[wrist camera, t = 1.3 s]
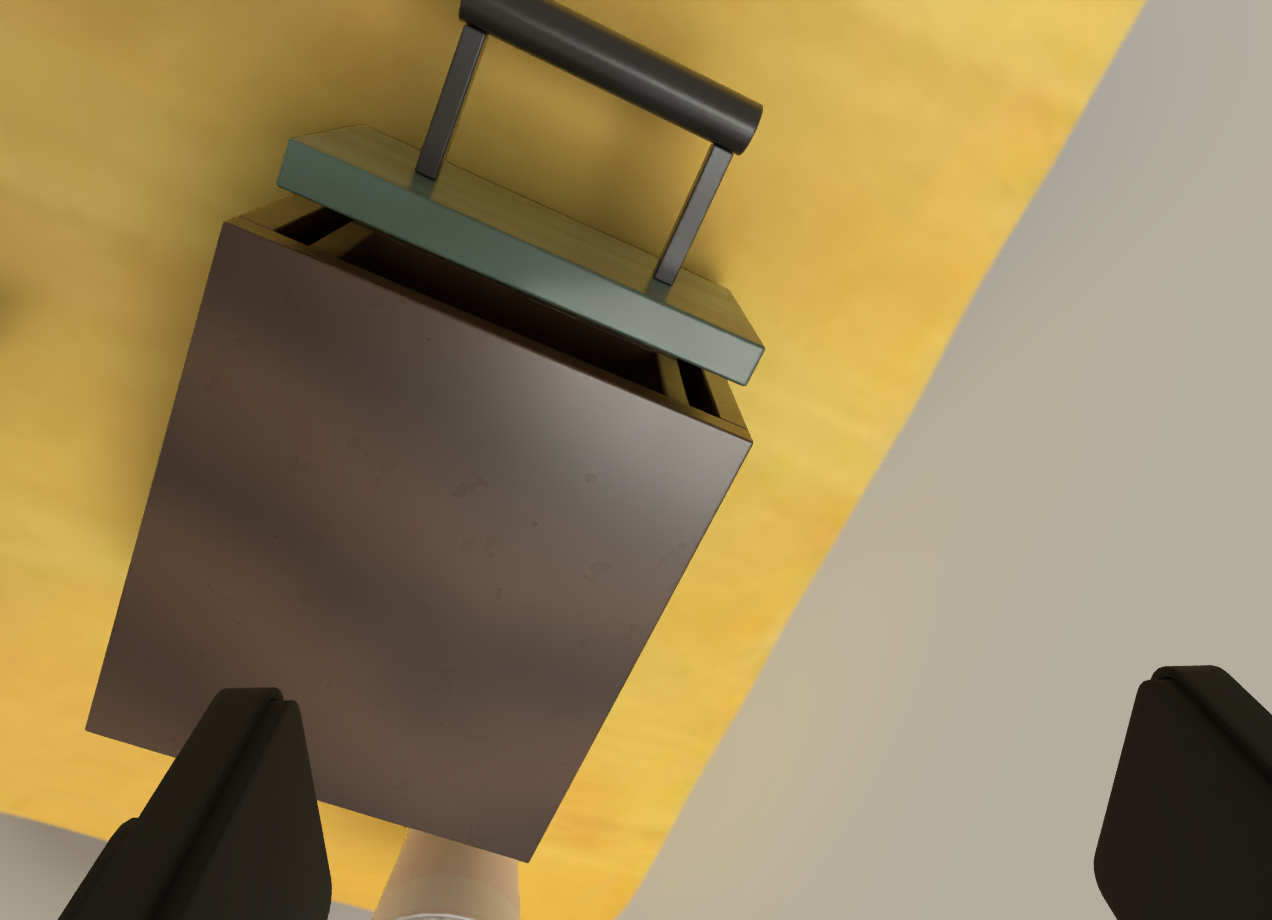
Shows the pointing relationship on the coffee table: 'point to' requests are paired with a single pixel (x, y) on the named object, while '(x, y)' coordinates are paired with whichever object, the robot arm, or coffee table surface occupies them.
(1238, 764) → the robot arm
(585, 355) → the drawer
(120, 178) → the coffee table surface
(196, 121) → the coffee table surface
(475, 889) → the smoothie
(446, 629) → the cabinet
